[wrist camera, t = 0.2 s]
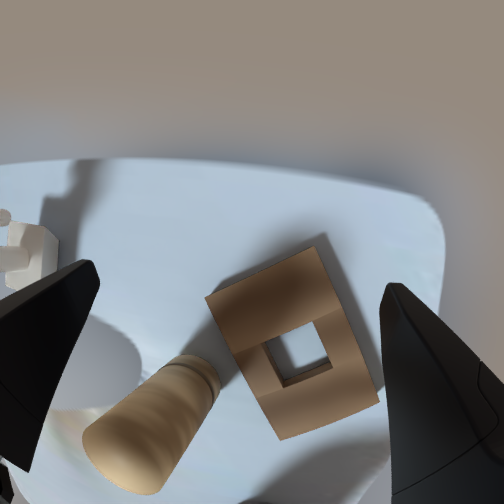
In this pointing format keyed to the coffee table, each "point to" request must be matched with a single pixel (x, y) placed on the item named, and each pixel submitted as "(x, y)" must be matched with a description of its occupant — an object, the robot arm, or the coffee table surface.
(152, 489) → the oak peg
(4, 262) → the figurine
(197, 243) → the coffee table surface
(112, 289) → the coffee table surface
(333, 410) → the walnut board
